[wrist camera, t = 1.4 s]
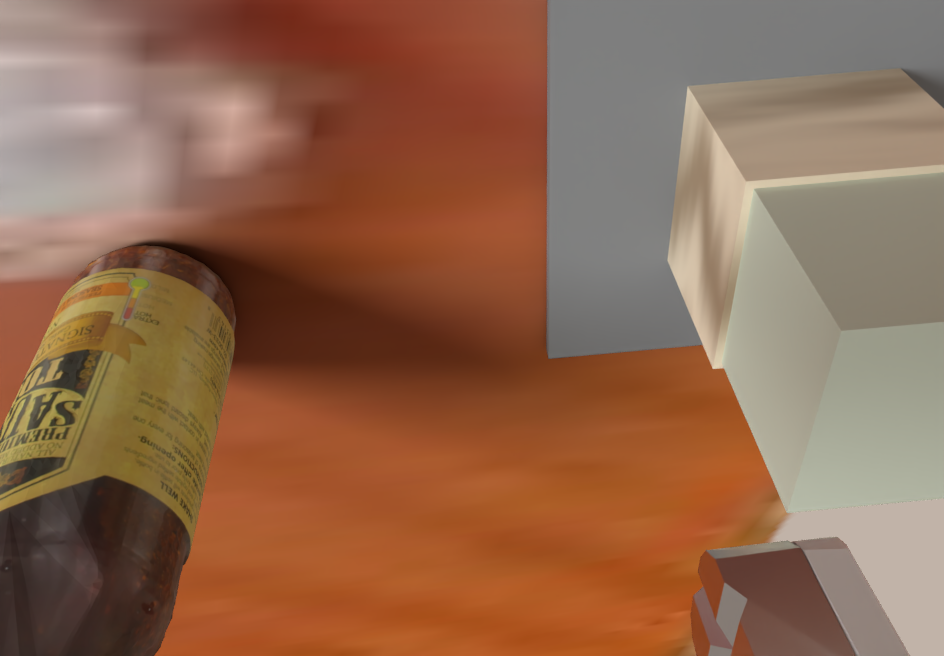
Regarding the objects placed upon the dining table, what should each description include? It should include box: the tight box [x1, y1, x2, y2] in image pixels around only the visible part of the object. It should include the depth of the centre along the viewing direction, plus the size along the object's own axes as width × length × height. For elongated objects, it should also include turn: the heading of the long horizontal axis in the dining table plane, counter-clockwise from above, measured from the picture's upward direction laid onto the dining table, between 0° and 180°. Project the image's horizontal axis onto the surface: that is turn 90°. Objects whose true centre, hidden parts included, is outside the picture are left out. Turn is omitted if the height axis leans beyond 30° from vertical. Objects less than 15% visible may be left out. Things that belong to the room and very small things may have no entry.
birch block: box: [667, 68, 944, 369], centre depth 28 cm, size 7×7×6 cm
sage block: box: [722, 172, 944, 513], centre depth 23 cm, size 6×6×6 cm
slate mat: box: [546, 0, 944, 359], centre depth 30 cm, size 16×16×1 cm
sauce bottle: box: [0, 245, 236, 656], centre depth 25 cm, size 7×6×20 cm
